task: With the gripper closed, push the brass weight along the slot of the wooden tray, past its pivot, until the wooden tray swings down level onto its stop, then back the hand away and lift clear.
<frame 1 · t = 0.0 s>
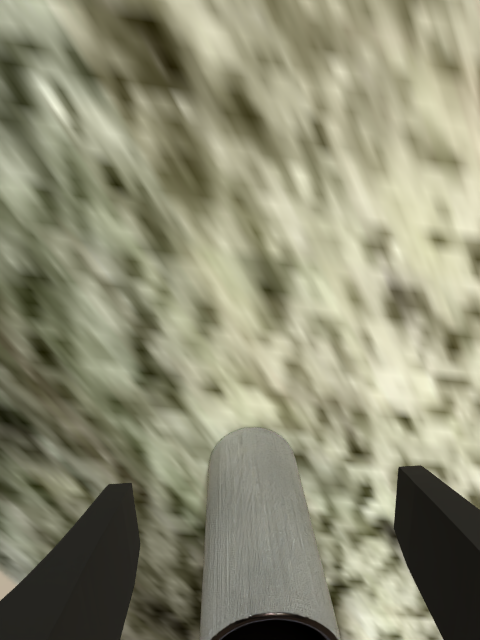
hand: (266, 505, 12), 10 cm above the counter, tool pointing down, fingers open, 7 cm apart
gray cylinder: (251, 461, 24), on the counter
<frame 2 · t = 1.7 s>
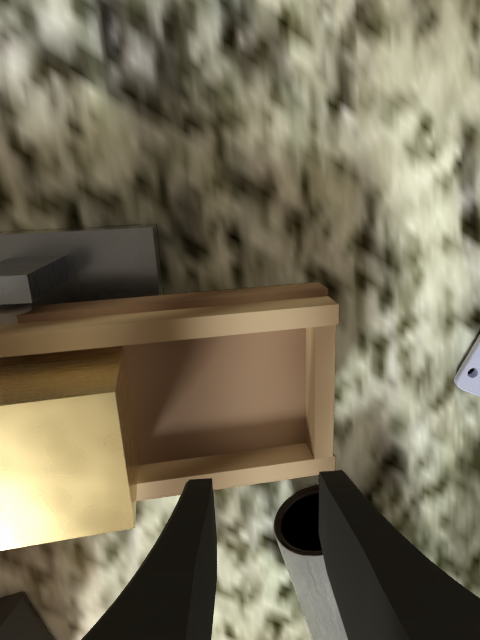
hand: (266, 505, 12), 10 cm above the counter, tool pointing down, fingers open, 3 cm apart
wooden tray: (27, 414, 17), point 5 cm above the counter, hinge at -7.5°, touching weight
weight: (65, 411, 17), point 5 cm above the counter, tilted 9°, touching wooden tray
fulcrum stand: (67, 364, 22), on the counter
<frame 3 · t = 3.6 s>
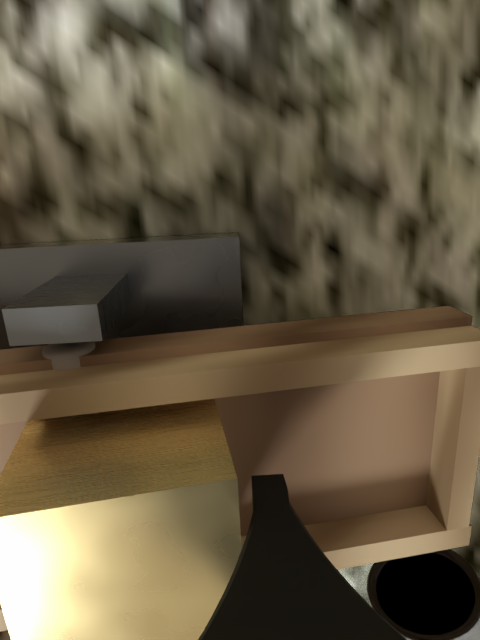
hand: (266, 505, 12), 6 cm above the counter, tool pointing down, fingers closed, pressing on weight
wooden tray: (87, 481, 13), point 5 cm above the counter, hinge at -7.5°, touching weight
weight: (134, 477, 13), point 5 cm above the counter, tilted 9°, touching wooden tray, gripper
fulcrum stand: (120, 403, 18), on the counter
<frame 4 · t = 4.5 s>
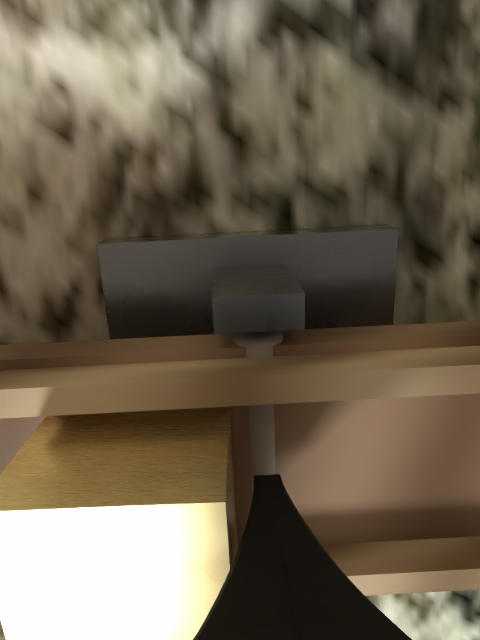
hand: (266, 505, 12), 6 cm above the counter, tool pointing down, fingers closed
wooden tray: (263, 470, 13), point 5 cm above the counter, hinge at 0.6°
weight: (149, 480, 13), point 5 cm above the counter, touching gripper
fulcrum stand: (253, 395, 18), on the counter
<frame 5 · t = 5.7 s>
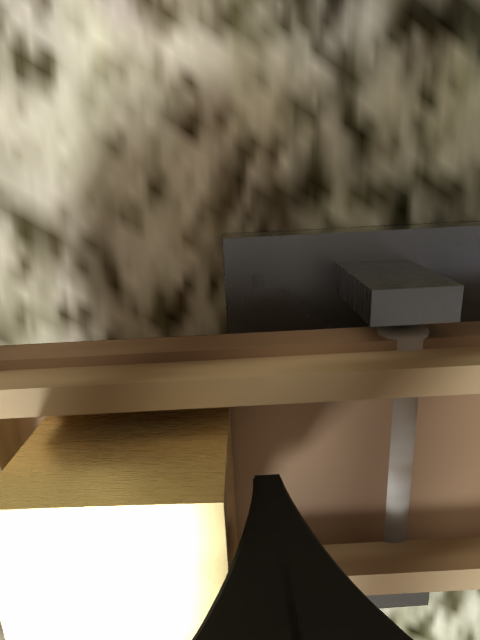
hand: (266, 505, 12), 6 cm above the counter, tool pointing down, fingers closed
wooden tray: (400, 463, 13), point 5 cm above the counter, hinge at 0.8°, touching weight
weight: (150, 480, 13), point 5 cm above the counter, touching wooden tray, gripper
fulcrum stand: (355, 390, 18), on the counter
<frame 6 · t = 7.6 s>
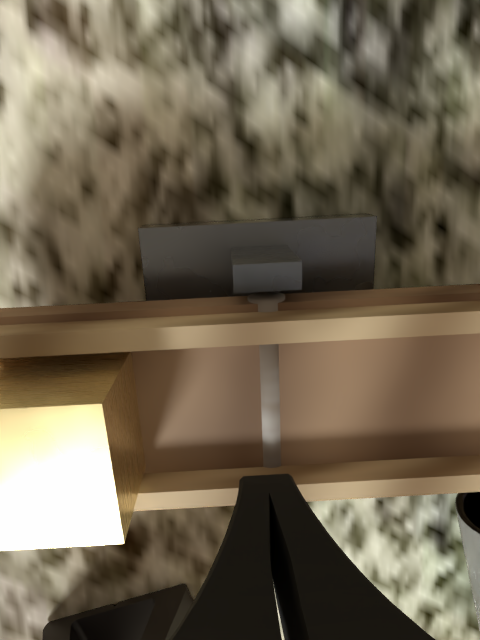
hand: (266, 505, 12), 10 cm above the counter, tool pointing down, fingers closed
wooden tray: (270, 402, 17), point 5 cm above the counter, hinge at 0.6°, touching weight
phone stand: (135, 633, 28), on the counter
weight: (73, 414, 17), point 5 cm above the counter, touching wooden tray
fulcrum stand: (260, 355, 22), on the counter
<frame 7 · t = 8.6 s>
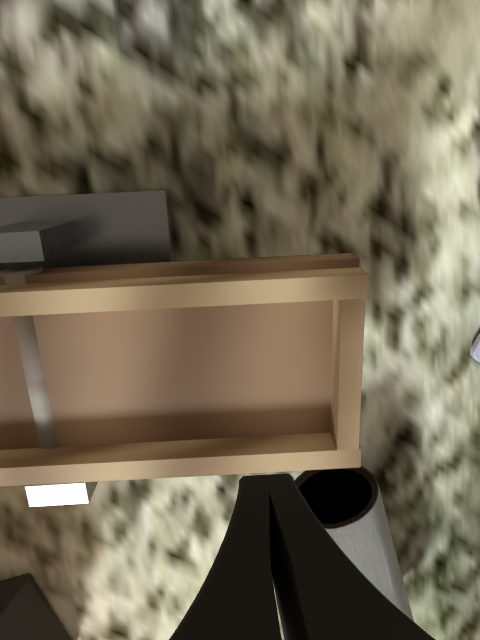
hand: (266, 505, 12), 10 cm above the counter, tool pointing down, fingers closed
gray cylinder: (375, 638, 25), point 2 cm above the counter
wooden tray: (36, 380, 17), point 5 cm above the counter, hinge at 0.6°, touching weight
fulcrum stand: (76, 336, 21), on the counter
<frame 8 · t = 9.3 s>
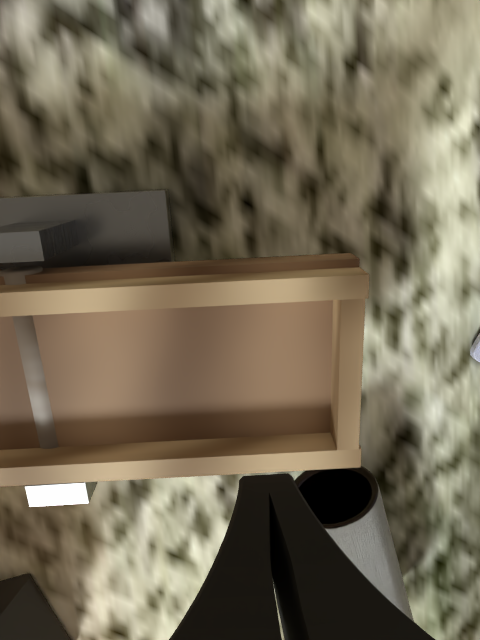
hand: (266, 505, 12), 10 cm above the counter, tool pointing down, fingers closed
gray cylinder: (375, 638, 25), point 2 cm above the counter
wooden tray: (36, 380, 17), point 5 cm above the counter, hinge at 0.6°, touching weight
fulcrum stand: (76, 336, 21), on the counter
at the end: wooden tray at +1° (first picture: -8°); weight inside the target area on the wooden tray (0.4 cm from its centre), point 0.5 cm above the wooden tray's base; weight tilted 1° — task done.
